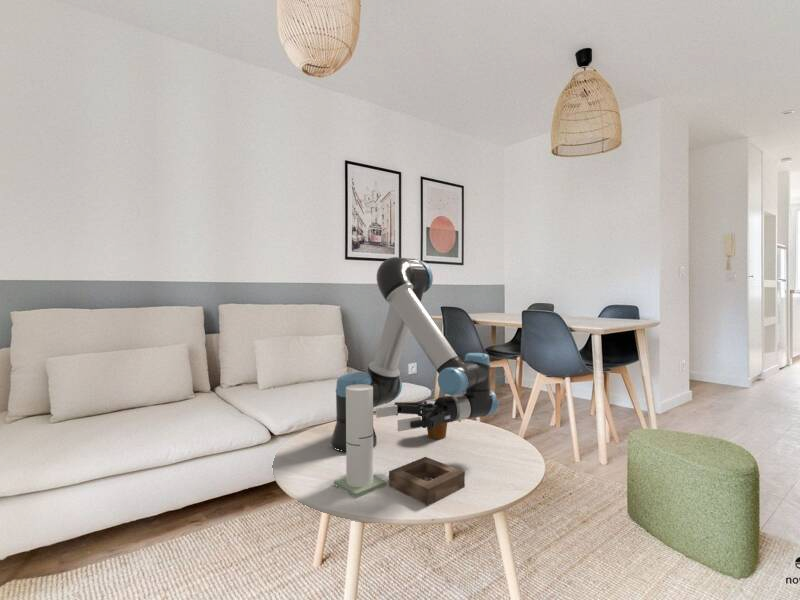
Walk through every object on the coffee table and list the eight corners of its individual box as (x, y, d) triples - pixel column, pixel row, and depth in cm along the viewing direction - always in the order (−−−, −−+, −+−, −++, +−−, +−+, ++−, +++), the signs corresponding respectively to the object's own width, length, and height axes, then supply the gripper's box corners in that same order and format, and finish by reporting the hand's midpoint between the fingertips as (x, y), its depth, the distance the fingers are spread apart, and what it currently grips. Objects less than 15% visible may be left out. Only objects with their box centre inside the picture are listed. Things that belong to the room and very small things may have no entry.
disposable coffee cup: (454, 434, 151) (454, 401, 151) (443, 442, 143) (443, 407, 142) (430, 430, 156) (430, 397, 155) (418, 437, 147) (418, 403, 147)
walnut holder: (389, 486, 111) (389, 471, 111) (425, 470, 120) (425, 456, 120) (428, 505, 101) (428, 489, 100) (464, 486, 110) (464, 471, 110)
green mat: (333, 484, 112) (333, 480, 112) (363, 473, 119) (363, 469, 119) (356, 497, 105) (356, 493, 105) (386, 484, 111) (386, 481, 111)
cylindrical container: (376, 485, 109) (375, 389, 109) (348, 488, 107) (348, 391, 107) (370, 473, 116) (369, 383, 116) (344, 477, 114) (343, 385, 114)
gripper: (477, 433, 114) (408, 447, 104) (429, 410, 136) (369, 420, 126) (477, 405, 114) (408, 417, 104) (429, 387, 136) (368, 395, 126)
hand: (386, 419), depth 115 cm, fingers open, 13 cm apart
